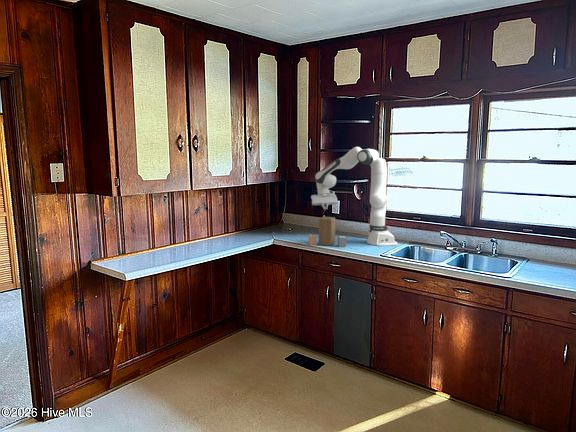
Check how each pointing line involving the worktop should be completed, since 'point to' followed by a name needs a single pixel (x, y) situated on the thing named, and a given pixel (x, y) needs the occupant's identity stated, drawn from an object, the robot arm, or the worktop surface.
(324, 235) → the wooden block
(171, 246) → the worktop surface
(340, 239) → the slate block
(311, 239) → the terracotta block
